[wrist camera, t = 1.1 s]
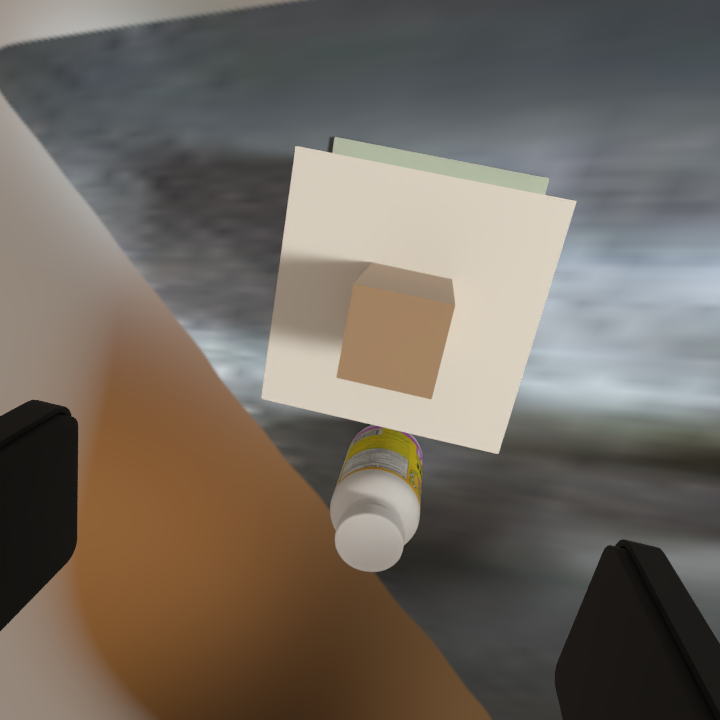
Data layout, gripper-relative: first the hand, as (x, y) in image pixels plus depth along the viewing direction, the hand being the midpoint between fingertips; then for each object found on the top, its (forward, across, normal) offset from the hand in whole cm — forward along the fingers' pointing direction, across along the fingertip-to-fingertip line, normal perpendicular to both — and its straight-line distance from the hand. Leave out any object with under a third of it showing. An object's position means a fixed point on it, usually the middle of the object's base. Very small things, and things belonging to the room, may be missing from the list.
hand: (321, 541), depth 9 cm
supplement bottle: (+35, -2, +17) cm, 39 cm away
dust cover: (+35, 0, 0) cm, 35 cm away
